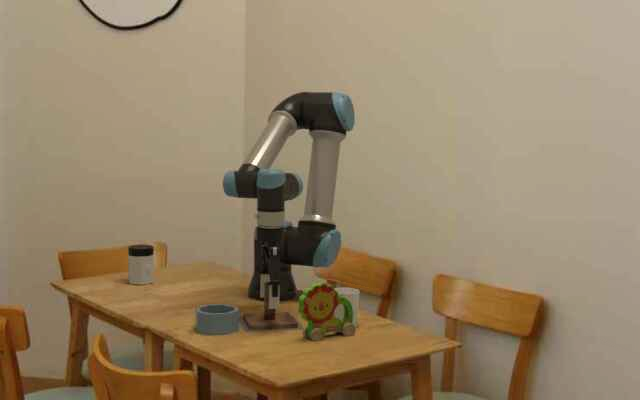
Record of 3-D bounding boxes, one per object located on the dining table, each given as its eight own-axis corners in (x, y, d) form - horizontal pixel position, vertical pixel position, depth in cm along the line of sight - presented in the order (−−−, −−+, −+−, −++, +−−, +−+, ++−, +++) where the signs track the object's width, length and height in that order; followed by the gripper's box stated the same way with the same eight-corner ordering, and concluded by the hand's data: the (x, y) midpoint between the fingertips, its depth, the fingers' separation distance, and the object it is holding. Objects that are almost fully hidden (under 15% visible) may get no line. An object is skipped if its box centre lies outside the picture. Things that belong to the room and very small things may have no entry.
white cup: (338, 331, 257) (339, 295, 256) (325, 324, 264) (325, 289, 263) (364, 328, 261) (364, 292, 260) (350, 321, 268) (350, 286, 267)
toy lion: (345, 332, 257) (346, 276, 255) (356, 337, 252) (357, 280, 250) (294, 339, 248) (294, 282, 246) (305, 345, 244) (305, 286, 242)
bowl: (234, 324, 262) (234, 303, 261) (240, 335, 252) (240, 313, 251) (194, 326, 260) (194, 305, 259) (198, 337, 249) (198, 315, 248)
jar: (136, 286, 307) (136, 249, 306) (122, 282, 313) (122, 246, 312) (159, 282, 314) (159, 246, 312) (145, 278, 319) (145, 243, 318)
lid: (288, 316, 271) (288, 277, 269) (297, 327, 258) (298, 287, 257) (242, 318, 268) (242, 278, 266) (249, 330, 255) (250, 289, 254)
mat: (292, 316, 272) (292, 314, 272) (304, 330, 257) (304, 329, 257) (236, 318, 269) (236, 317, 269) (245, 333, 253) (245, 331, 253)
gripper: (249, 219, 271) (248, 293, 273) (264, 233, 246) (263, 313, 249) (275, 219, 272) (274, 292, 275) (293, 233, 248) (292, 312, 251)
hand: (269, 302), depth 262 cm, fingers open, 13 cm apart
